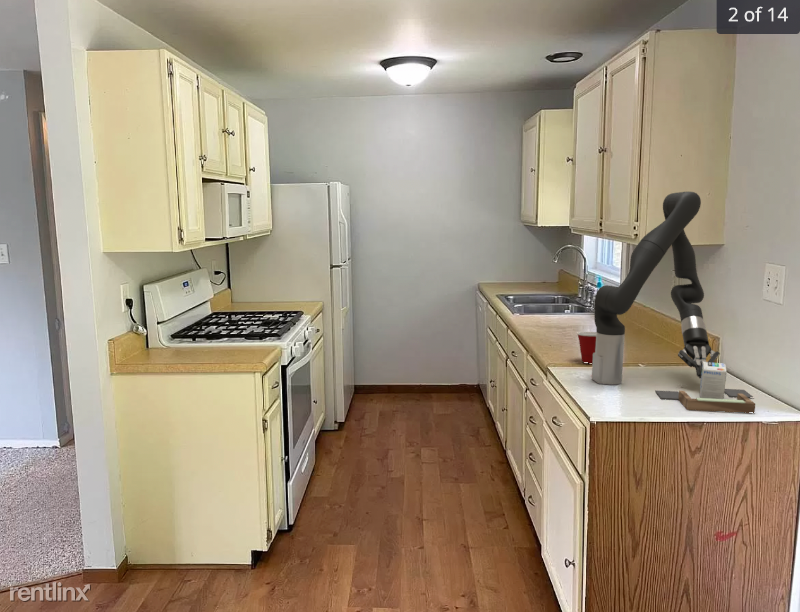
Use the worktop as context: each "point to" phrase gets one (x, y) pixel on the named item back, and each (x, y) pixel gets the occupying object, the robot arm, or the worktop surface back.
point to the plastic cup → (587, 345)
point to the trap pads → (675, 394)
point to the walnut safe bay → (717, 403)
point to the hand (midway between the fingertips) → (702, 377)
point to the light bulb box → (713, 380)
